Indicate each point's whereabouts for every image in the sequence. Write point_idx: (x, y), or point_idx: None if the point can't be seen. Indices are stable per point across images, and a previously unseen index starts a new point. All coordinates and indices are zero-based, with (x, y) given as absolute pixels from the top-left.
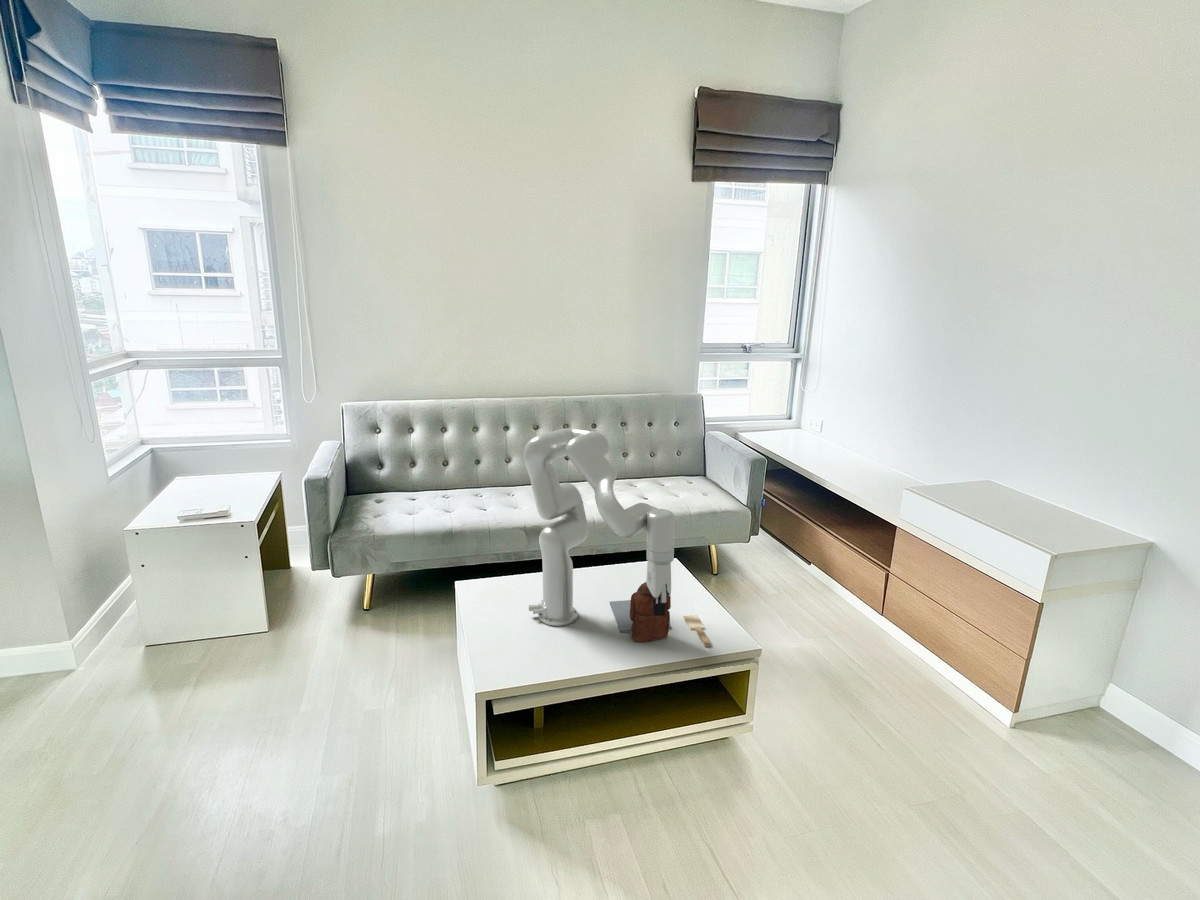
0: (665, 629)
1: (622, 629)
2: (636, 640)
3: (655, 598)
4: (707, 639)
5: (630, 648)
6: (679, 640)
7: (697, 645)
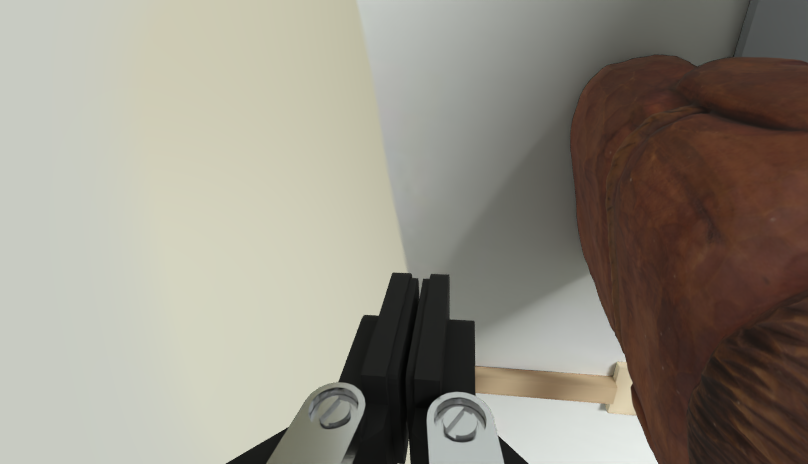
0: (591, 271)
1: (776, 3)
2: (590, 82)
3: (329, 452)
4: (499, 393)
5: (530, 28)
6: (543, 296)
7: (486, 345)
